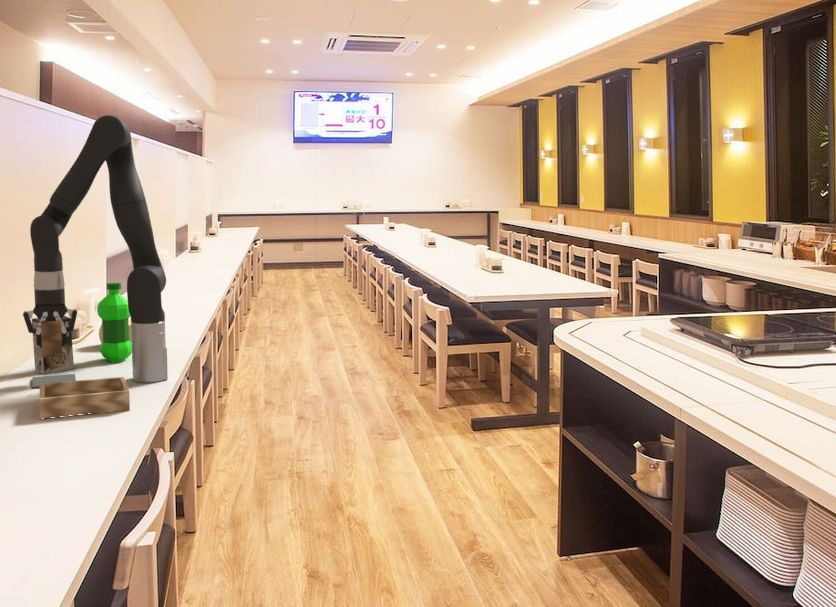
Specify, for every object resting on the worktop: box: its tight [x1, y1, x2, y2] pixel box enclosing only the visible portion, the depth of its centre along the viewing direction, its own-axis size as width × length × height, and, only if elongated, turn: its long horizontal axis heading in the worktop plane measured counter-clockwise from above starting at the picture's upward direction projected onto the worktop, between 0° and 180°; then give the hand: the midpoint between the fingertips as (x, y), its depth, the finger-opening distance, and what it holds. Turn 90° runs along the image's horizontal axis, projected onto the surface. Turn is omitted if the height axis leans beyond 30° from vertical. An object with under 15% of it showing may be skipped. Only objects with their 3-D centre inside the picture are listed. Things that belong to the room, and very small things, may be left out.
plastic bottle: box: [96, 282, 132, 363], centre depth 229 cm, size 10×10×25 cm
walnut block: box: [41, 320, 62, 357], centre depth 202 cm, size 5×5×10 cm
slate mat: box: [31, 373, 77, 390], centre depth 204 cm, size 11×11×1 cm
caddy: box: [38, 376, 131, 420], centre depth 182 cm, size 20×15×5 cm
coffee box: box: [31, 315, 75, 375], centre depth 216 cm, size 9×6×16 cm
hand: (52, 346), depth 202 cm, fingers closed on walnut block, 5 cm apart
